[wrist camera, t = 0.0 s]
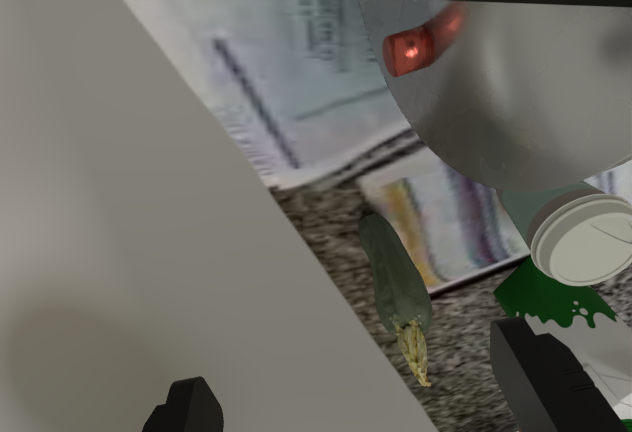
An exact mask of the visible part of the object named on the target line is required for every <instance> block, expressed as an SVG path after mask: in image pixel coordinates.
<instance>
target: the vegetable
mask: <svg viewBox="0 0 632 432" xmlns="http://www.w3.org/2000/svg"><path fill="white" fill-rule="evenodd" d="M358 227H359V236H360V240H361V243H362V246H363V248H364V250H365V252H366V254H367V256H368V258H369V260H370V263H371V267H372V271H373V281H374V292H375V303H376V308H377V312H378V315H379V317H380V320H381V322H382V324H383V325H384V327H385V328H386V330H387V331H388V332H390V333H391V334H392V335H394V336H396V337H398V345H399V347H400V349H401V351H402V353H403V354H404V356H405V357H406V360H407V362H408V364H409V366H410V368H411V370H412V371H413V374H414V375H415V376H416V378H417V379H418V380H419V382H420V383H421V385H423V386H428V387H429V386H431V383H429V382H428V377H427V376H426V371H427V369H426V368H427V367H428V361H427V354H426V353H427V347H426V343H425V339H424V335H423V334H424V333H425V332H426V331H427V329H428V328H429V325H430V323H431V319H432V304H431V300H430V297H429V294H428V291H427V289H426V286H425V284H424V281H423V279H422V277H421V275H420V273H419V271H418V270H417V268H416V267H415V265H414V264H413V262H412V260H411V258H410V256H409V255H408V253H407V251H406V249H405V247H404V246H403V244H402V242H401V240H400V238H399V236H398V235H397V233H396V232H395V230H394V228H393V227H392V226H391V224H390V223H389V222H388V221H387V220H386V219H385V218H384V217H382V216H379V215H377V214H371V215H368V216H366V217H364V218H363V219H362V220H361V222H360V223H359V224H358Z"/></svg>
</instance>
